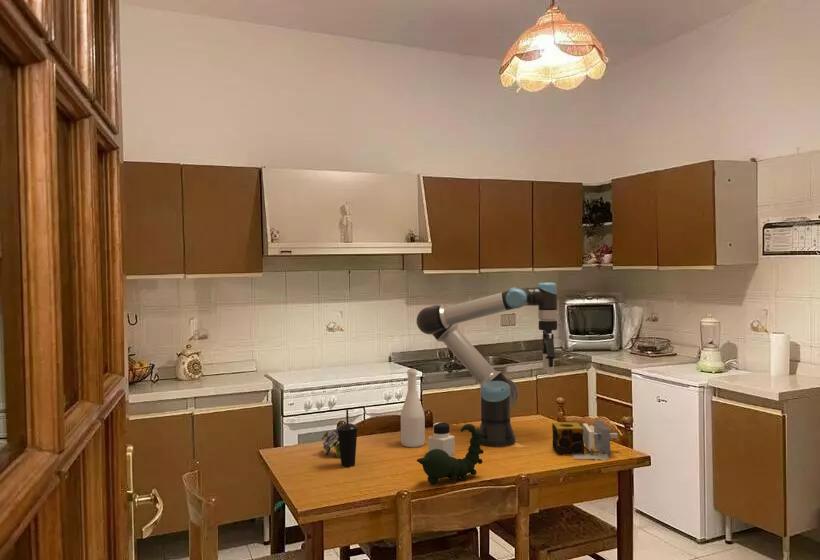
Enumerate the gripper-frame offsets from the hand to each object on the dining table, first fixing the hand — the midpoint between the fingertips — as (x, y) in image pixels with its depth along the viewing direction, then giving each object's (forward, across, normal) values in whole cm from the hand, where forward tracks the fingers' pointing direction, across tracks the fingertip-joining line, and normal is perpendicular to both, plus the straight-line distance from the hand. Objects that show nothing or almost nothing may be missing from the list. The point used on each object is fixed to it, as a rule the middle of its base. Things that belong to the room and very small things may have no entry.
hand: (548, 372), depth 259 cm
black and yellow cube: (+27, -20, -4) cm, 34 cm away
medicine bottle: (+27, -27, +43) cm, 57 cm away
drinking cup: (+27, -40, +76) cm, 90 cm away
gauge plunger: (+25, -22, -17) cm, 37 cm away
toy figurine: (+27, -55, +39) cm, 73 cm away
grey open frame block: (+27, -22, -12) cm, 36 cm away
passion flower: (+27, -26, +83) cm, 91 cm away
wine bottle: (+27, -13, +55) cm, 63 cm away
